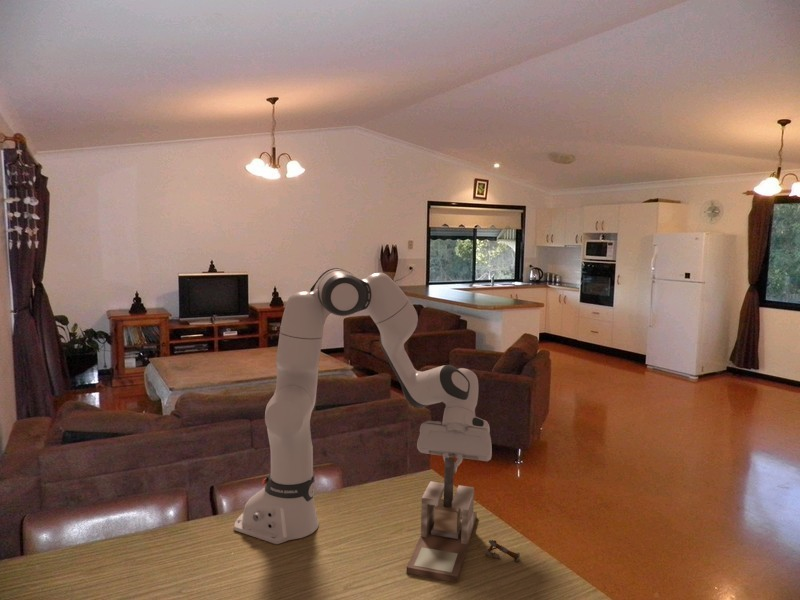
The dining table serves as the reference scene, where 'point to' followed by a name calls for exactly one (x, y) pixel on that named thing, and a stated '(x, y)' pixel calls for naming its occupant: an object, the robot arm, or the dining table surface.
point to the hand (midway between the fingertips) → (450, 471)
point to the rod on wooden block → (447, 508)
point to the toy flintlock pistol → (503, 549)
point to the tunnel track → (441, 552)
